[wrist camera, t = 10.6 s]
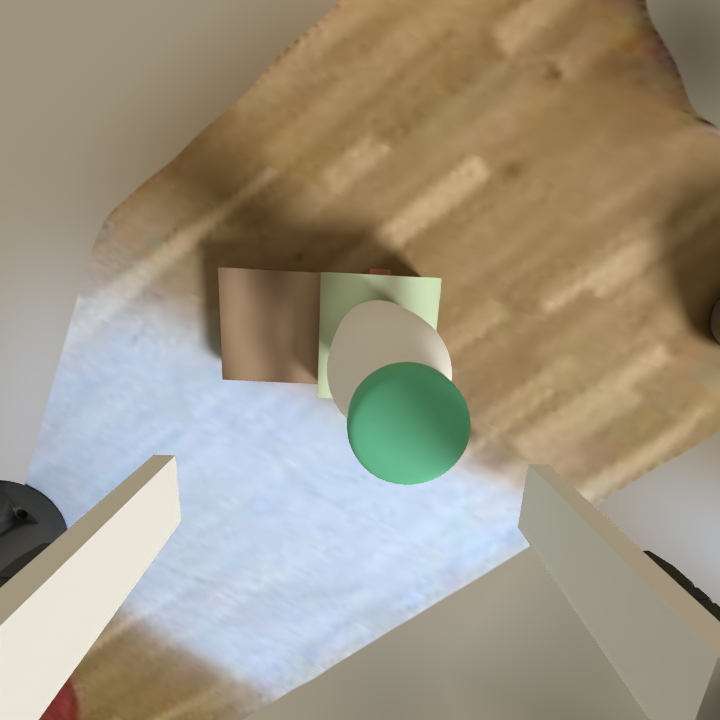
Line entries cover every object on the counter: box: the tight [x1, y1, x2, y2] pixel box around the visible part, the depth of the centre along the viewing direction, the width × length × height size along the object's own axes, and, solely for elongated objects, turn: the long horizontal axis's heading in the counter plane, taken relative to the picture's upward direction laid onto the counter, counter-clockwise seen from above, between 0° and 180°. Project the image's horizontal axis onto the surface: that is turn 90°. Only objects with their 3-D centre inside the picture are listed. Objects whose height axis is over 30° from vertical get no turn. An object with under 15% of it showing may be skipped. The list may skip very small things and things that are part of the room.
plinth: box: [218, 267, 442, 398], centre depth 35 cm, size 22×13×8 cm, turn 87°
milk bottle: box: [327, 300, 470, 485], centre depth 22 cm, size 8×8×20 cm
